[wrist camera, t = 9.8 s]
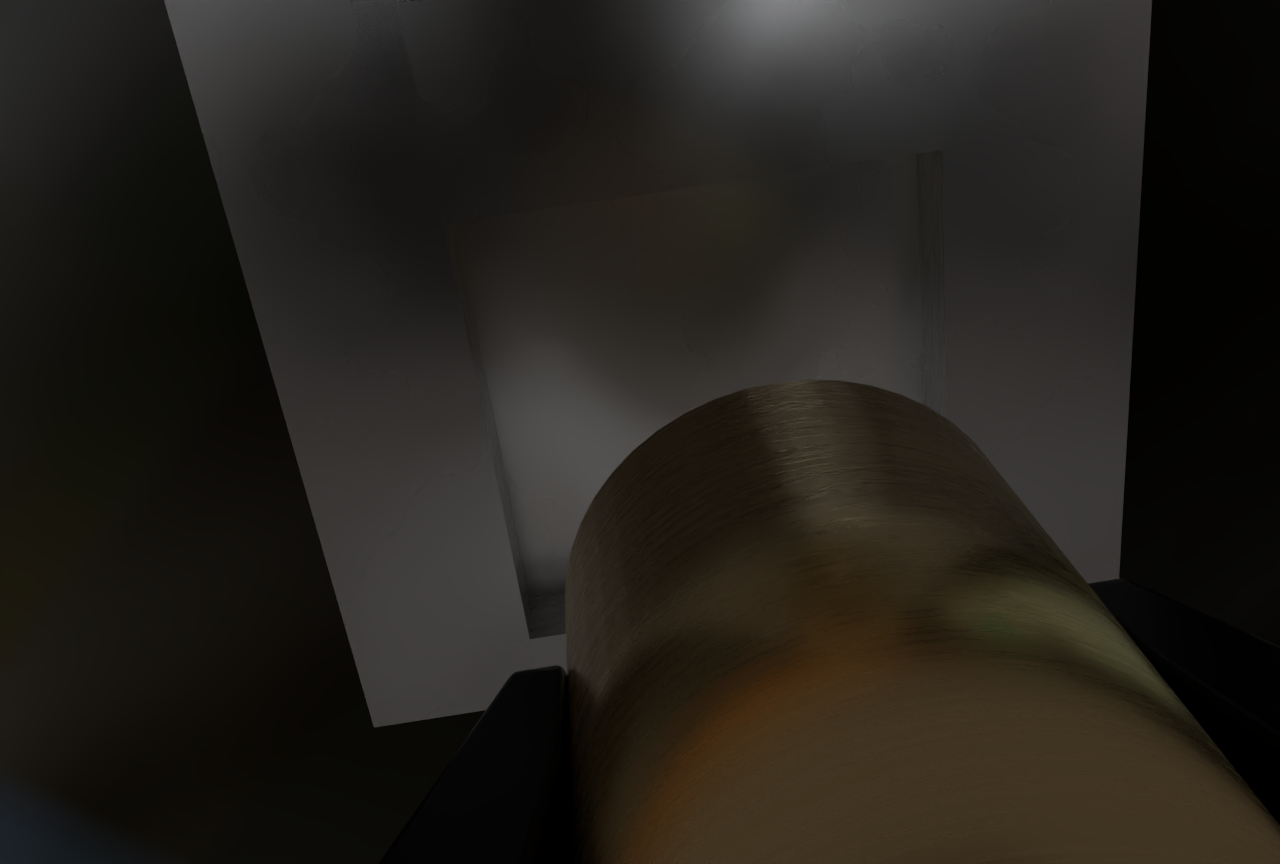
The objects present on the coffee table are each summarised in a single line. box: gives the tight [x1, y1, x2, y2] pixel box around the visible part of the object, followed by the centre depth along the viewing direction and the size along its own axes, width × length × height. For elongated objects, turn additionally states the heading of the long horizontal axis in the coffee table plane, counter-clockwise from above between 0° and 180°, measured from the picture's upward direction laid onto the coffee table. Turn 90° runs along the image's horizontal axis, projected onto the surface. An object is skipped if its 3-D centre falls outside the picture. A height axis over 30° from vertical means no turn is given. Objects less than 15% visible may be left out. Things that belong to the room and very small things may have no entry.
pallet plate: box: [164, 0, 1152, 727], centre depth 13 cm, size 10×16×2 cm, turn 8°
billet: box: [565, 379, 1280, 864], centre depth 8 cm, size 4×4×6 cm
